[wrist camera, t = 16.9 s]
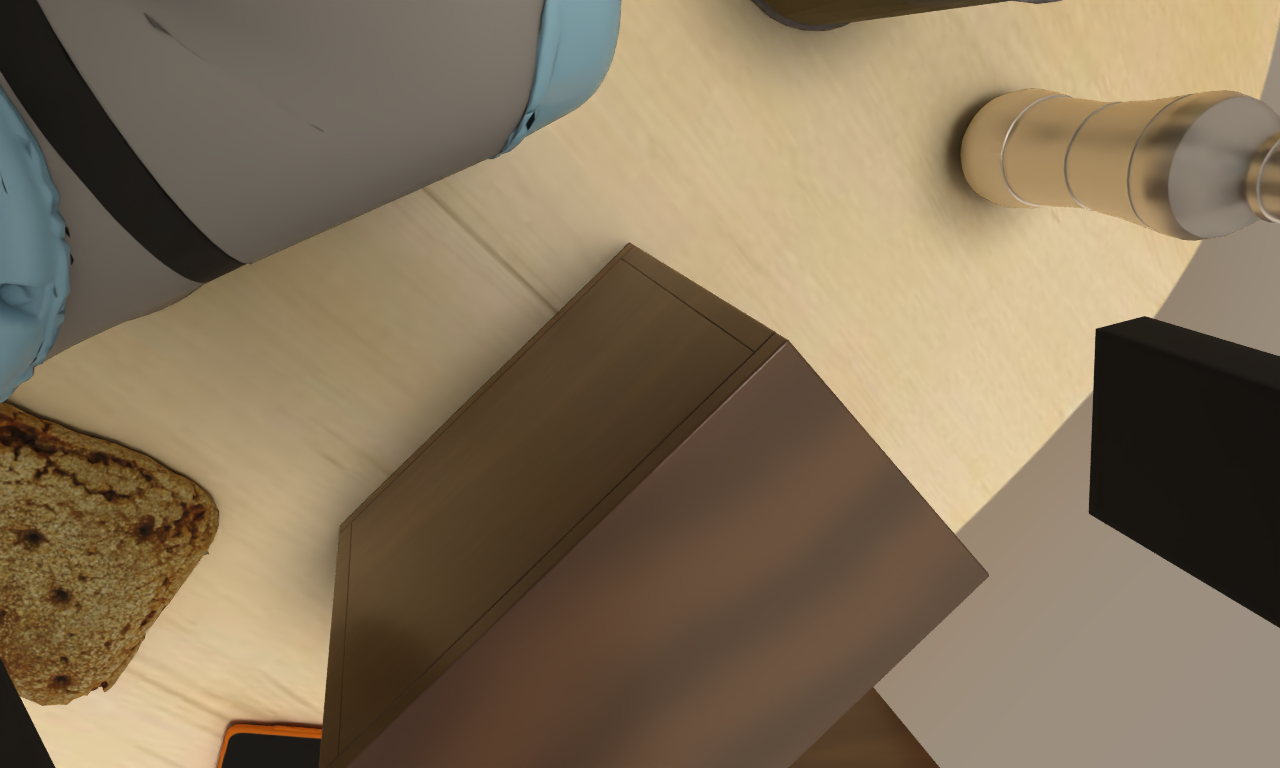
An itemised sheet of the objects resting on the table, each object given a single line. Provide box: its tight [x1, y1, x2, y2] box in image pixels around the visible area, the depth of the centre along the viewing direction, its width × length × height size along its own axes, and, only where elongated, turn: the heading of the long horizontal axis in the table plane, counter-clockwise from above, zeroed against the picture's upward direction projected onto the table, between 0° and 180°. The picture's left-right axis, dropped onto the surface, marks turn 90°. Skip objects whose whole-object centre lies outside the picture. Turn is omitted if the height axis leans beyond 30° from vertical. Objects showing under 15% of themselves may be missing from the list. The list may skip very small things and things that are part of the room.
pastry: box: [0, 402, 219, 706], centre depth 42 cm, size 17×17×3 cm
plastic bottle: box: [961, 88, 1280, 240], centre depth 42 cm, size 6×7×20 cm
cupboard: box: [319, 243, 989, 768], centre depth 41 cm, size 14×22×20 cm, turn 132°
